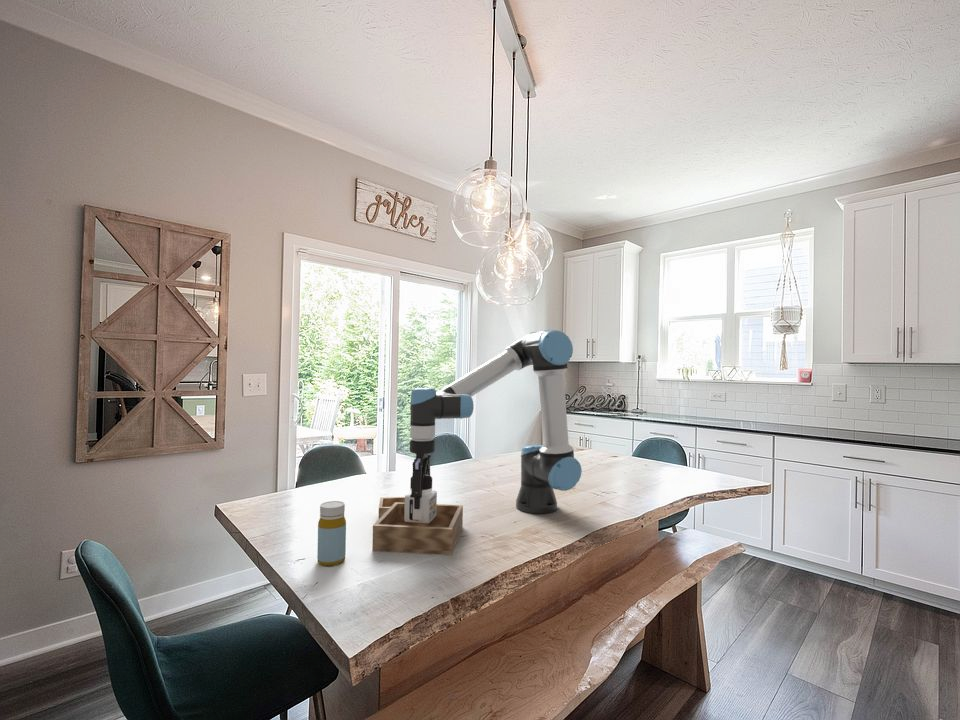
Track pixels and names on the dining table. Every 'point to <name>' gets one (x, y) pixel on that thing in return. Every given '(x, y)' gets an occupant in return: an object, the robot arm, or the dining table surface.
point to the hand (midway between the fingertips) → (420, 514)
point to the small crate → (388, 502)
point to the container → (428, 502)
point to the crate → (419, 531)
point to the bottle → (331, 534)
